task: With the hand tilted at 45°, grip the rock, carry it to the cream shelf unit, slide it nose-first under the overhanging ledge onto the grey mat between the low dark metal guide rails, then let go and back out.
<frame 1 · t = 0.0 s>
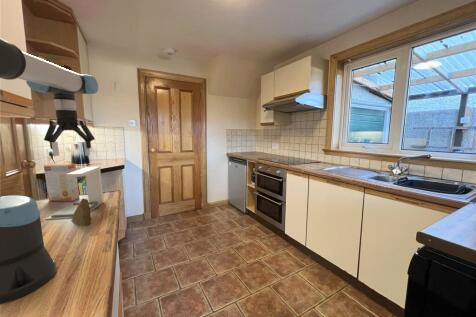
hand: (72, 155, 97), 28 cm above the countertop, tool pointing down, fingers open, 13 cm apart
shelf unit: (74, 210, 102), on the countertop
rock: (81, 223, 90), on the countertop
cracker box: (64, 200, 118), on the countertop
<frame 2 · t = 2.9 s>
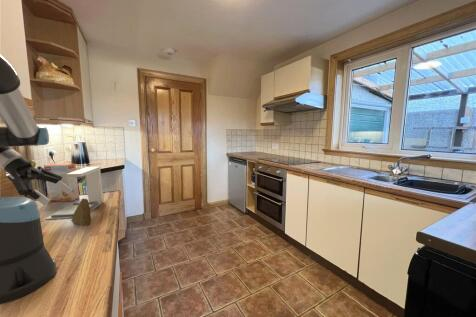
hand: (59, 196, 88), 12 cm above the countertop, tool tilted 45°, fingers open, 13 cm apart
nothing on the countertop moved.
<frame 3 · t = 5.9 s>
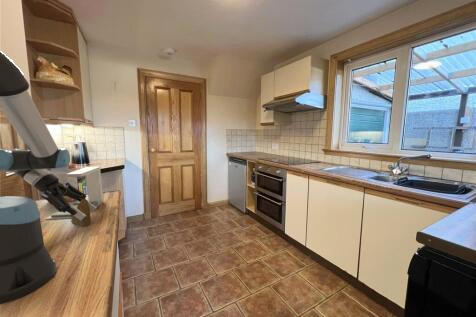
hand: (89, 213, 90), 4 cm above the countertop, tool tilted 45°, fingers closed on rock, 8 cm apart
rock: (81, 223, 90), on the countertop, touching gripper
everything else where it was.
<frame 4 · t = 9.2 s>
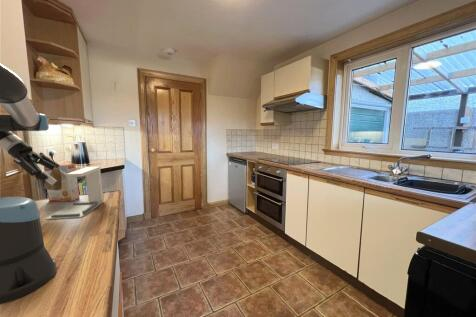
hand: (60, 180, 98), 16 cm above the countertop, tool tilted 45°, fingers closed on rock, 7 cm apart
rock: (53, 189, 97), point 12 cm above the countertop, touching gripper
everything else where it was.
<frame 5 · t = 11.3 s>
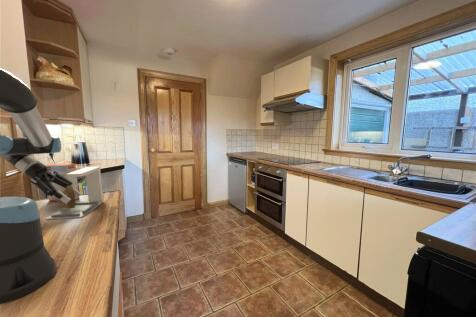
hand: (74, 198, 102), 6 cm above the countertop, tool tilted 45°, fingers closed on rock, 7 cm apart
rock: (66, 207, 101), point 2 cm above the countertop, touching gripper
everything else where it was.
when the fingers open (5 cm above the countertop, at t = 12.8 s): rock stays where it is, resting on shelf unit.
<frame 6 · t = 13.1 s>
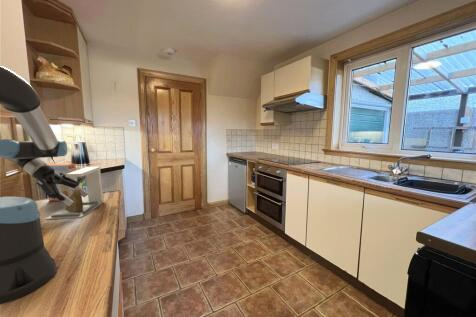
hand: (79, 199, 102), 6 cm above the countertop, tool tilted 45°, fingers open, 11 cm apart
rock: (74, 210, 102), resting on shelf unit
everything else where it was.
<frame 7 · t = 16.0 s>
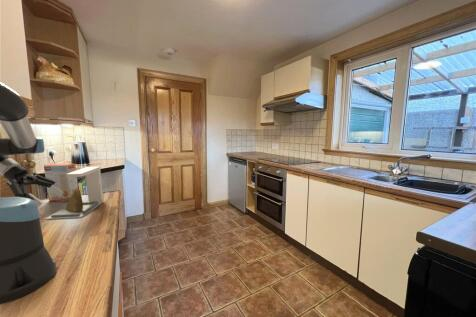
hand: (51, 199, 100), 6 cm above the countertop, tool tilted 45°, fingers open, 13 cm apart
nothing on the countertop moved.
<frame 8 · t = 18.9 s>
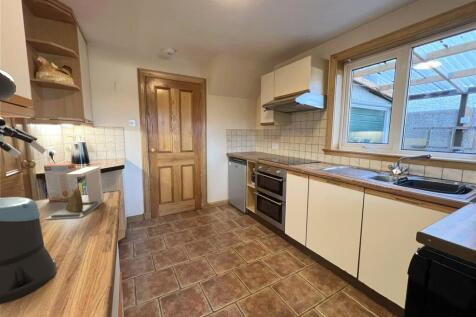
hand: (32, 153, 92), 30 cm above the countertop, tool tilted 45°, fingers open, 13 cm apart
nothing on the countertop moved.
at the end: rock 0.8 cm off-centre on the shelf unit, point 0.3 cm above the shelf unit's base; rock tilted 1°; the gripper is holding nothing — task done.
